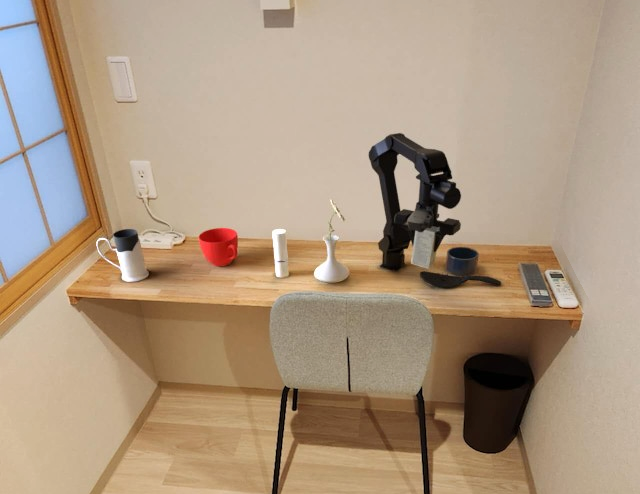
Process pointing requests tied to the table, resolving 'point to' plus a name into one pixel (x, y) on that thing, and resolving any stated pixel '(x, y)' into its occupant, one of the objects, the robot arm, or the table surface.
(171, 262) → the table surface
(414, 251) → the cosmetic box
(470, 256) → the crock
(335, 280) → the flower in vase
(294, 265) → the table surface
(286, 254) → the tube
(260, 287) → the table surface
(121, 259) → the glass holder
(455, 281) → the hairbrush
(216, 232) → the ceramic cup
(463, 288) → the table surface
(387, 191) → the robot arm
